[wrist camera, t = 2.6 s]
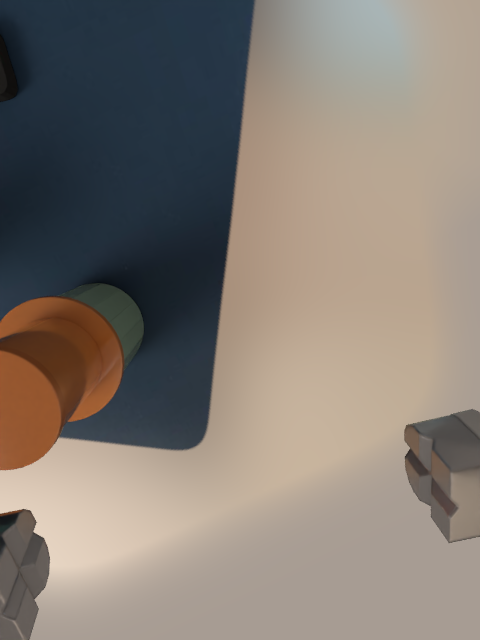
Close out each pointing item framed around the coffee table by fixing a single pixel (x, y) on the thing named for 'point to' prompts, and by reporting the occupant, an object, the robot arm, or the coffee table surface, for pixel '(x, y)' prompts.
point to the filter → (52, 373)
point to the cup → (114, 313)
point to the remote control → (6, 75)
